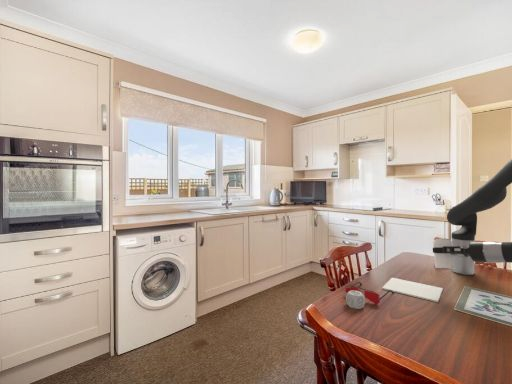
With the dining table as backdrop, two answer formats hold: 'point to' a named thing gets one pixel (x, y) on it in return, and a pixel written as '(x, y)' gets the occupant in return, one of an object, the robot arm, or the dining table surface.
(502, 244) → the robot arm
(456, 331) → the dining table surface
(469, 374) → the dining table surface
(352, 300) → the die
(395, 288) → the mat
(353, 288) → the glasses
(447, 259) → the can
